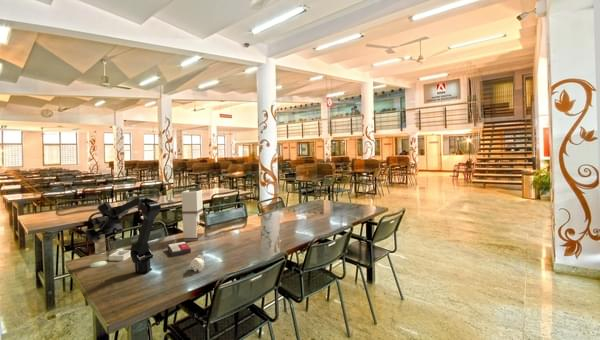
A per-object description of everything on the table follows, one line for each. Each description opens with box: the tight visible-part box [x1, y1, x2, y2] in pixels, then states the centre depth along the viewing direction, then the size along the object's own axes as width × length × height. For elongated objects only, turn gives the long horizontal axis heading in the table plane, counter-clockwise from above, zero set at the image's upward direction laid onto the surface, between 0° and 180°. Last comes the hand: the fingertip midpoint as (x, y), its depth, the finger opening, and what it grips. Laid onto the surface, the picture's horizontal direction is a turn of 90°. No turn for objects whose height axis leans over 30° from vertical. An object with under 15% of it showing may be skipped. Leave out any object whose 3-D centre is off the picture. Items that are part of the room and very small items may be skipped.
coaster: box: [89, 260, 108, 268], centre depth 169 cm, size 8×8×1 cm
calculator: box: [167, 241, 192, 257], centre depth 189 cm, size 11×4×15 cm
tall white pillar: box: [181, 189, 205, 242], centre depth 216 cm, size 11×11×35 cm
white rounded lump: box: [187, 254, 206, 273], centre depth 159 cm, size 8×10×7 cm
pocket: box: [108, 249, 131, 262], centre depth 179 cm, size 9×9×3 cm
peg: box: [94, 228, 107, 254], centre depth 169 cm, size 5×5×13 cm
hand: (98, 240), depth 170 cm, fingers closed on peg, 5 cm apart
